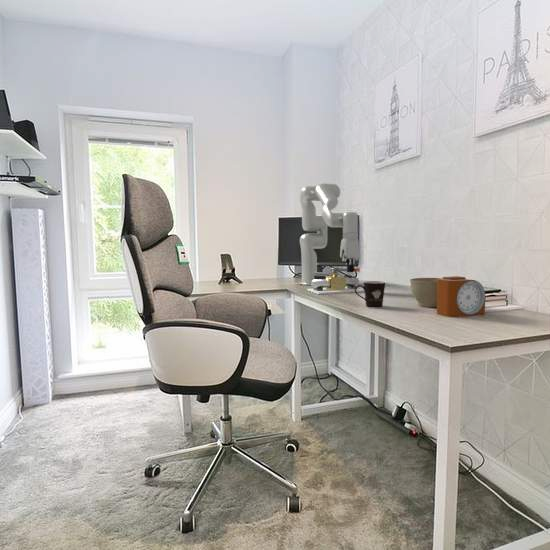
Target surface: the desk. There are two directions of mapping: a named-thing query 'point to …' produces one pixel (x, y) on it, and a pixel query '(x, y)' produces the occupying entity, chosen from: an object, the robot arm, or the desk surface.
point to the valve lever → (344, 269)
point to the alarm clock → (460, 297)
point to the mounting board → (336, 291)
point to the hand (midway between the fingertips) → (350, 272)
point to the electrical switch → (320, 275)
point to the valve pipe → (334, 283)
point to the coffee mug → (373, 293)
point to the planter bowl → (425, 291)
